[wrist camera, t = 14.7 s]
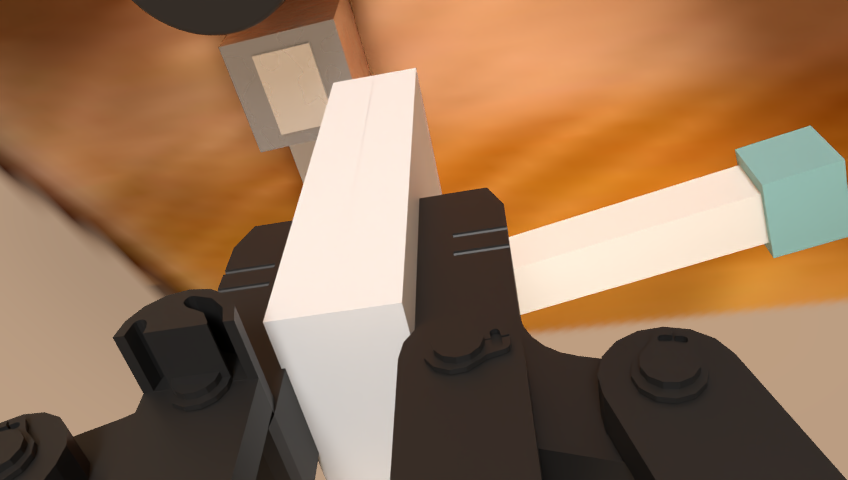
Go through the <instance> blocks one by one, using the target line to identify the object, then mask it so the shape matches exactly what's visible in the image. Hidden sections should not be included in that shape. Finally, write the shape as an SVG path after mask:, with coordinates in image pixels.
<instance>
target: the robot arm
mask: <svg viewBox="0 0 848 480" xmlns="http://www.w3.org/2000/svg"><path fill="white" fill-rule="evenodd" d="M225 272H226V275H223V277H222V280H221V283H220V285H219V288H218V291H215V290H212V289H196V290H187V291H183V292H179V293H175V294H172V295H168V296H165V297H163V298H161V299H159V300H157V301H155V302H153V303H151V304H149V305H147V306H145V307H143V308H142V309H141V310H139V311H138V312H137V313H136V314H134V315H133V316H132V317H130V318H129V319H128V320H127V321H125V323H124V324H123V325H122V326H121V328H120V329H119V330H118V331H117V333H116V334H115V335H114V337H113V339H114V341H115V342H116V344H117V346H118V348H119V350H120V351H121V353H122V355H123V357H124V359H125V360H126V362H127V364H128V366H129V368H130V370H131V371H132V373H133V375H134V377H135V379H136V380H137V382H138V384H139V386H140V388H141V389H142V391H143V393H144V394H143V396H142V399H141V401H140V404H139V406H138V408H137V410H136V412H135V413H134V414H131V415H129V416H127V417H125V418H122V419H119V420H117V421H114V422H111V423H109V424H106V425H103V426H101V427H98V428H95V429H93V430H90V431H87V432H84V433H82V434H79V435H77V436H74V437H73V436H72V434H71V433H70V431H69V430H68V428H67V427H66V425H65V424H64V422H63V421H62V419H61V418H60V417H58V416H54V415H51V414H48V413H45V412H44V413H34V414H24V415H21V416H18V417H15V418H13V419H10V420H7V421H4V422H2V423H0V480H315V475H316V469H317V462H318V461H319V463H320V466H321V469H322V471H323V474H324V476H325V478H326V480H847V479H846V478H845V477H844V476H843V475H842V474H841V473H840V472H839V471H838V469H837V468H836V467H835V466H834V465H833V464H832V463H831V461H830V460H829V459H828V458H827V457H826V456H825V455H824V454H823V453H822V451H821V450H820V449H819V448H818V447H817V446H816V445H815V443H814V442H813V441H812V440H811V439H810V438H809V437H808V435H806V433H805V432H804V431H803V430H802V429H801V428H800V426H799V425H798V424H797V423H796V422H795V421H794V420H793V419H792V418H791V416H790V415H789V414H788V413H787V412H786V411H785V410H784V408H783V407H782V406H781V405H780V404H779V403H778V402H777V401H776V400H775V398H774V397H773V396H772V395H771V394H770V393H769V392H768V390H767V389H766V388H765V387H764V386H763V385H762V384H761V383H760V381H759V380H758V379H757V378H756V377H755V376H754V375H753V374H752V372H751V371H750V370H749V369H748V368H747V367H746V366H745V364H744V363H743V362H742V361H741V360H740V359H739V358H738V357H737V355H736V354H735V353H733V352H732V351H731V350H730V349H728V348H727V347H726V346H724V345H723V344H722V343H721V342H719V341H718V340H716V339H715V338H712V337H710V336H707V335H704V334H702V333H699V332H696V331H693V330H691V329H681V328H670V327H659V328H653V329H647V330H641V331H637V332H635V333H632V334H631V335H628V336H626V337H624V338H622V339H620V340H618V341H616V342H615V343H614V344H613V346H612V347H610V349H609V350H608V351H607V352H606V353H605V354H604V355H603V356H602V359H599V358H590V357H581V356H575V355H571V354H566V353H560V352H558V351H556V350H553V349H551V348H548V347H545V346H544V345H542V344H541V343H540V342H538V341H537V340H535V339H534V338H533V337H531V335H530V334H529V333H528V332H527V330H526V329H525V328H524V327H523V324H522V321H521V316H520V309H519V302H518V295H517V288H516V281H515V275H514V268H513V262H512V255H511V249H510V242H509V236H508V229H507V223H506V216H505V210H504V204H503V203H502V202H501V201H500V200H499V199H498V198H497V197H496V196H495V195H494V194H493V193H492V192H491V191H490V190H489V189H488V188H481V189H475V190H469V191H462V192H456V193H450V194H443V195H442V192H441V187H440V182H439V177H438V172H437V167H436V163H435V158H434V153H433V148H432V143H431V138H430V133H429V128H428V124H427V119H426V114H425V109H424V104H423V99H422V94H421V89H420V85H419V80H418V75H417V70H416V68H413V69H408V70H402V71H396V72H391V73H385V74H380V75H374V76H368V77H363V78H357V79H351V80H346V81H340V82H335V83H333V86H332V89H331V92H330V96H329V99H328V103H327V106H326V109H325V113H324V116H323V120H322V123H321V126H320V130H319V133H318V137H317V140H316V143H315V147H314V150H313V154H312V157H311V160H310V164H309V167H308V171H307V174H306V177H305V181H304V184H303V188H302V191H301V194H300V198H299V201H298V205H297V208H296V211H295V215H294V218H293V221H287V222H281V223H274V224H268V225H262V226H255V227H254V228H253V229H252V230H251V231H250V232H249V233H248V234H247V235H246V236H245V237H244V238H243V239H242V240H241V241H240V242H239V243H238V244H237V246H236V247H235V248H234V249H233V252H232V254H231V257H230V260H229V262H228V265H227V267H226V270H225Z"/></svg>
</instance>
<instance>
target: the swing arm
mask: <svg viewBox="0 0 848 480" xmlns="http://www.w3.org/2000/svg"><path fill="white" fill-rule="evenodd" d="M735 152H736V158H737V163H738V166H735V167H732V168H728V169H725V170H722V171H719V172H716V173H712V174H709V175H706V176H703V177H700V178H697V179H693V180H690V181H687V182H684V183H681V184H677V185H674V186H671V187H668V188H665V189H661V190H658V191H655V192H652V193H649V194H646V195H642V196H639V197H636V198H633V199H630V200H626V201H623V202H620V203H617V204H614V205H610V206H607V207H604V208H601V209H598V210H594V211H591V212H588V213H585V214H582V215H579V216H575V217H572V218H569V219H566V220H563V221H559V222H556V223H553V224H550V225H547V226H543V227H540V228H537V229H534V230H531V231H528V232H524V233H521V234H518V235H515V236H512V237H509V242H510V249H511V255H512V262H513V268H514V275H515V281H516V288H517V295H518V302H519V309H520V315H522V314H525V313H529V312H532V311H535V310H539V309H542V308H546V307H549V306H553V305H556V304H559V303H563V302H566V301H570V300H573V299H577V298H580V297H583V296H587V295H590V294H594V293H597V292H601V291H604V290H607V289H611V288H614V287H618V286H621V285H625V284H628V283H632V282H635V281H638V280H642V279H645V278H649V277H652V276H656V275H659V274H662V273H666V272H669V271H673V270H676V269H680V268H683V267H686V266H690V265H693V264H697V263H700V262H704V261H707V260H710V259H714V258H717V257H721V256H724V255H728V254H731V253H734V252H738V251H741V250H745V249H748V248H752V247H755V246H759V245H762V244H765V246H766V247H767V249H768V250H769V252H770V253H771V255H772V256H773V258H776V257H779V256H783V255H786V254H790V253H793V252H797V251H800V250H804V249H807V248H811V247H814V246H818V245H821V244H825V243H828V242H832V241H835V240H839V239H842V238H846V237H848V189H847V178H846V166H845V159H844V158H843V157H842V156H841V155H840V154H839V153H838V152H837V151H836V150H835V149H834V148H833V147H832V146H831V145H830V144H829V143H828V142H827V141H826V140H825V139H824V138H823V137H822V136H821V135H820V134H819V133H818V132H817V131H816V130H815V129H814V128H813V127H812V126H811V125H810V126H807V127H804V128H801V129H798V130H795V131H791V132H788V133H785V134H782V135H779V136H776V137H773V138H769V139H766V140H763V141H760V142H757V143H754V144H751V145H747V146H744V147H741V148H738V149H735Z"/></svg>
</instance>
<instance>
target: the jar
mask: <svg viewBox="0 0 848 480" xmlns="http://www.w3.org/2000/svg"><path fill="white" fill-rule="evenodd" d="M132 1H133V2H134V3H135V4H137V5H138V6H139V7H140V8H141V9H142V10H144V11H145V12H147V13H148V14H149V15H151V16H152V17H154V18H156V19H157V20H159V21H161V22H163V23H165V24H167V25H169V26H171V27H174V28H176V29H179V30H182V31H186V32H189V33H194V34H201V35H227V34H232V33H236V32H240V31H243V30H246V29H248V28H251V27H253V26H255V25H257V24H259V23H260V22H262V21H263V20H265V19H266V18H268V17H269V16H270V15H271V14H272V13H274V12H275V11H276V10H277V9H278V8H279V7H280V6H281V5H282V4H283V3H284V2H285V1H286V0H132Z"/></svg>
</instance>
